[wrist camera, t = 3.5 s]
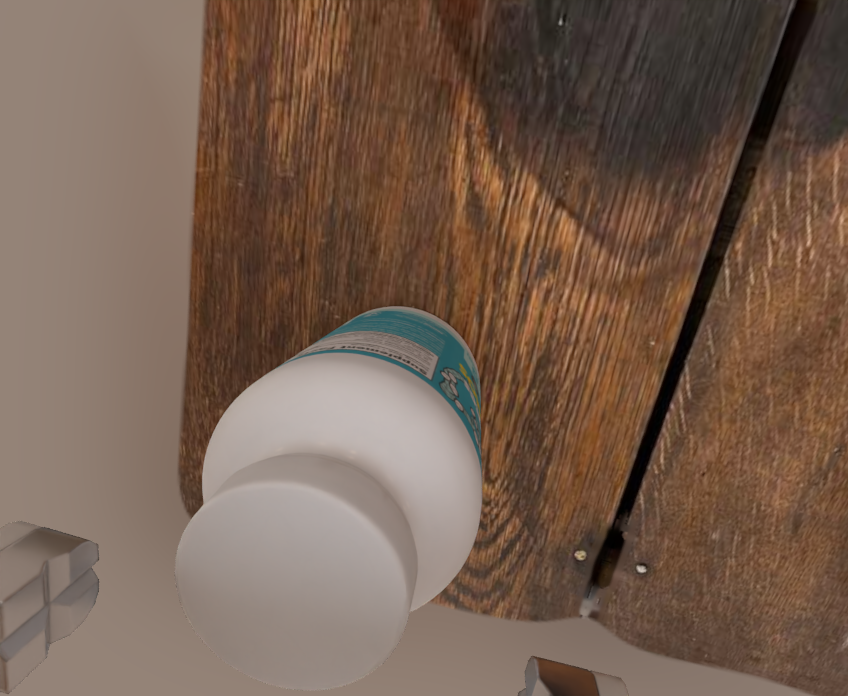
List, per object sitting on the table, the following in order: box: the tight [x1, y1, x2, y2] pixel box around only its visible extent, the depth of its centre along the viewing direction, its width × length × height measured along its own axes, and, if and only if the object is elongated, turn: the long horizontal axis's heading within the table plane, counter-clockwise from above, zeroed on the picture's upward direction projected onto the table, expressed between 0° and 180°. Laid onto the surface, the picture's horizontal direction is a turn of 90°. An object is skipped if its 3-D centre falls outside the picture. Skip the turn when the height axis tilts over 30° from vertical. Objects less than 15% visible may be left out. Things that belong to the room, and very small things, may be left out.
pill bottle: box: [175, 306, 482, 690], centre depth 15 cm, size 8×7×14 cm
